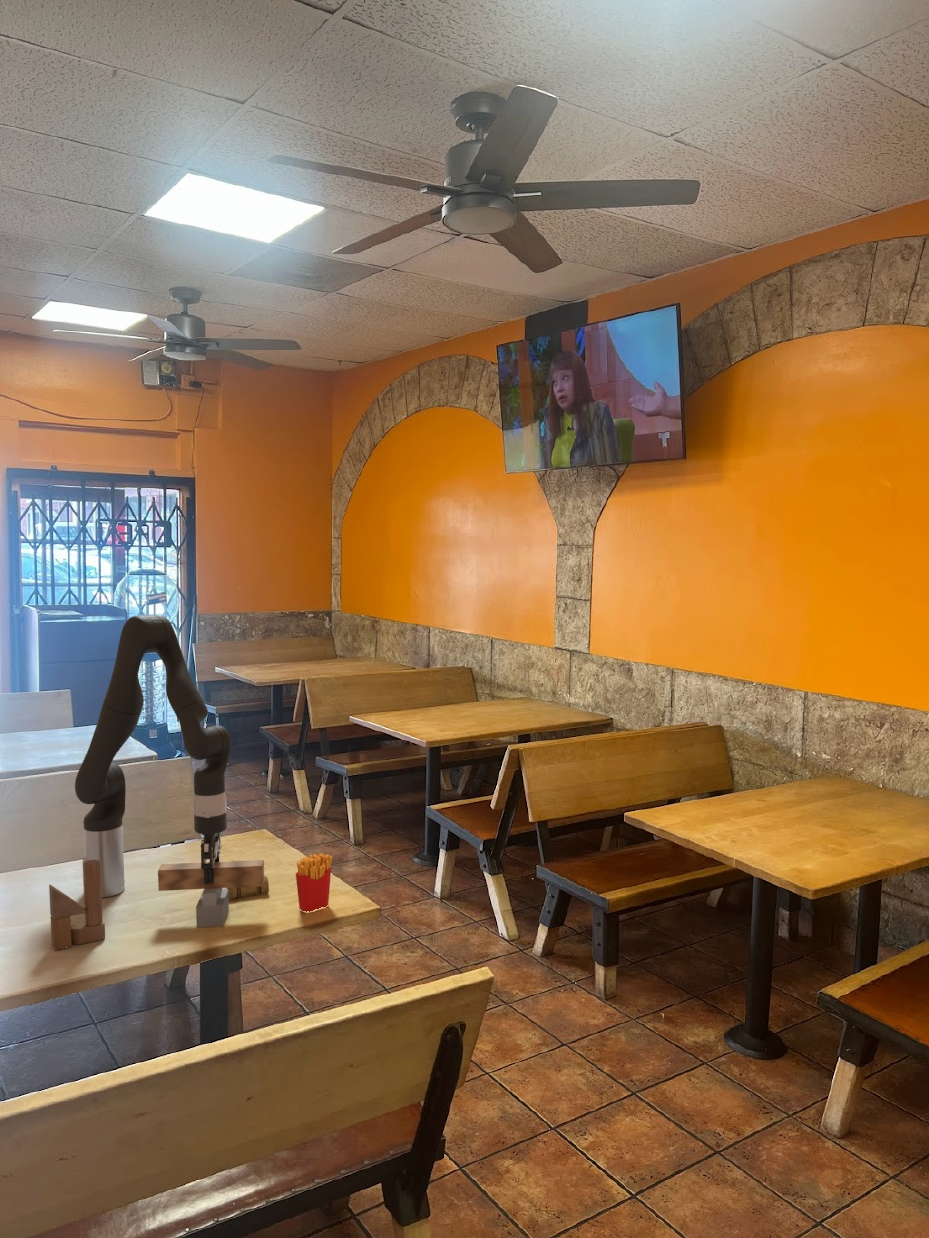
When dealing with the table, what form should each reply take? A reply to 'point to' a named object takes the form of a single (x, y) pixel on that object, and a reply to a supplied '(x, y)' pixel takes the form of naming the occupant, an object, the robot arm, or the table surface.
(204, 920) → the steps
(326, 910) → the table surface
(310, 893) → the french fries
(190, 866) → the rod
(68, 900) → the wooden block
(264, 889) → the gavel
